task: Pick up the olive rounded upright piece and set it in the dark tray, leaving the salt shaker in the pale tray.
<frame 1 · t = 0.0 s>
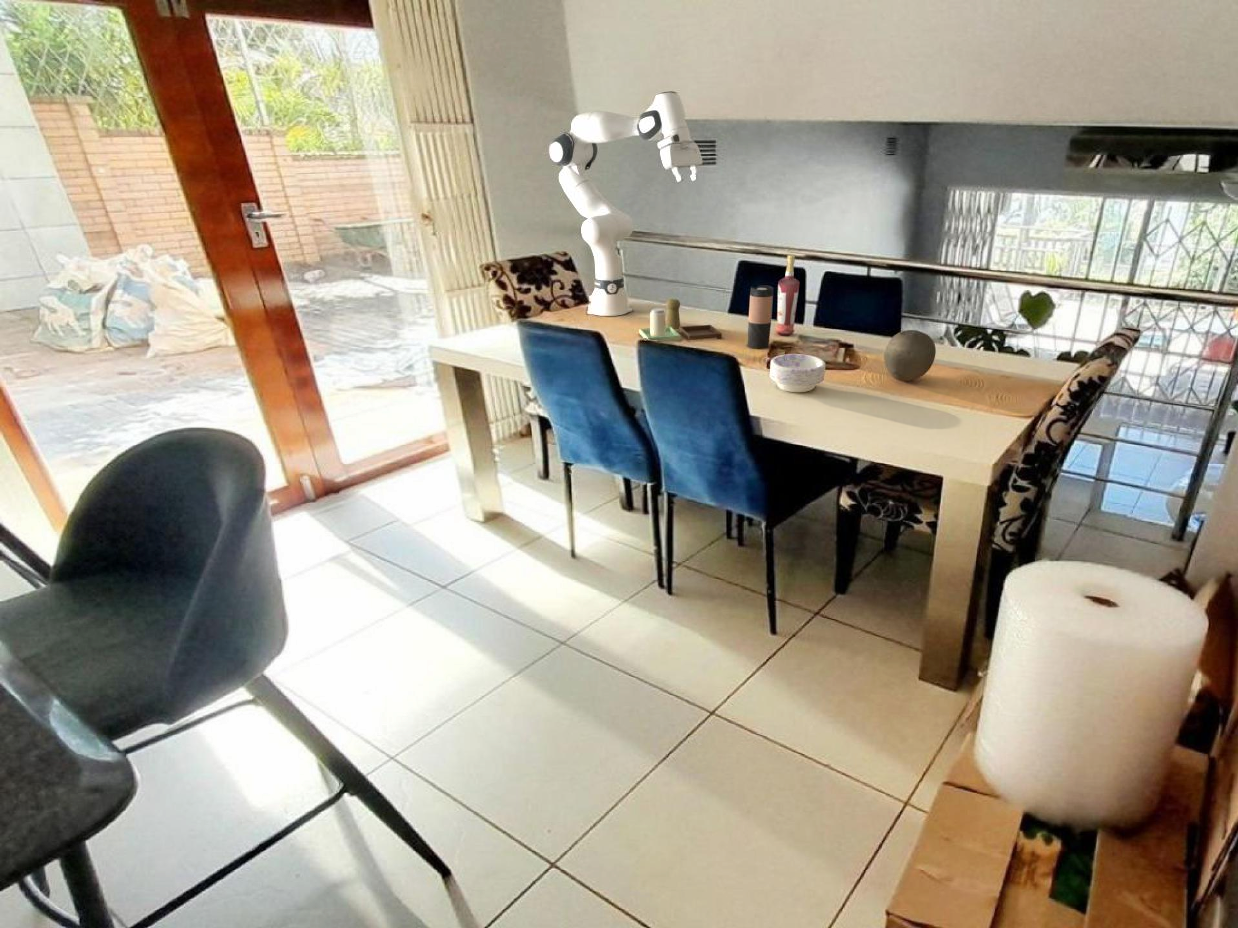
hand: (687, 180, 250), 52 cm above the table, tool tilted 20°, fingers open, 8 cm apart
travel mug: (758, 346, 243), on the table
paper bowls: (795, 388, 203), on the table
olive rounded upright piece: (672, 329, 267), on the table
liquor: (784, 335, 256), on the table
dark tray: (700, 335, 257), on the table
cantaloupe: (905, 382, 206), on the table
salt shaker: (657, 337, 254), resting on pale tray
pale tray: (659, 337, 256), on the table
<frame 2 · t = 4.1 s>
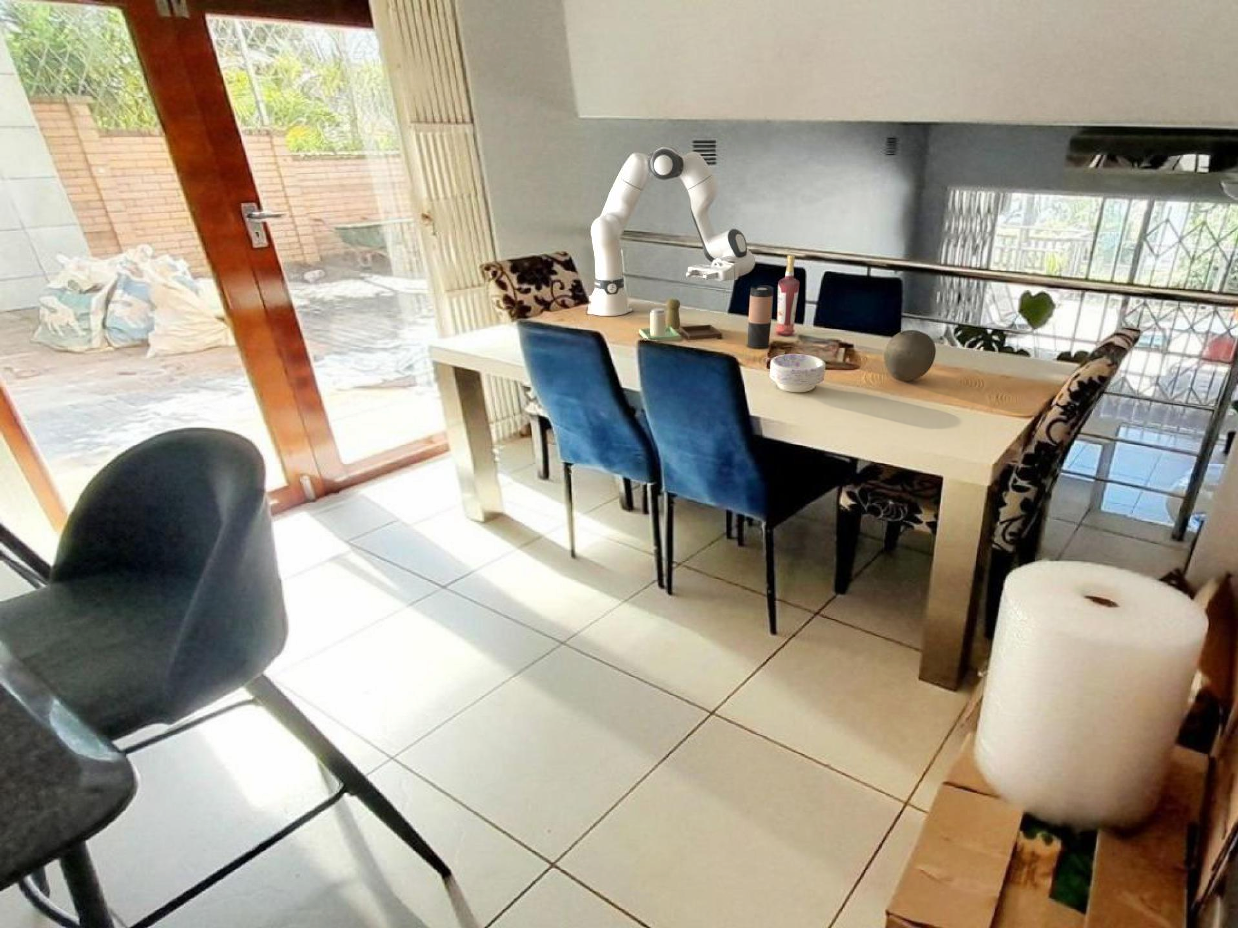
hand: (696, 276, 266), 18 cm above the table, tool horizontal, fingers open, 8 cm apart
nothing on the table moved.
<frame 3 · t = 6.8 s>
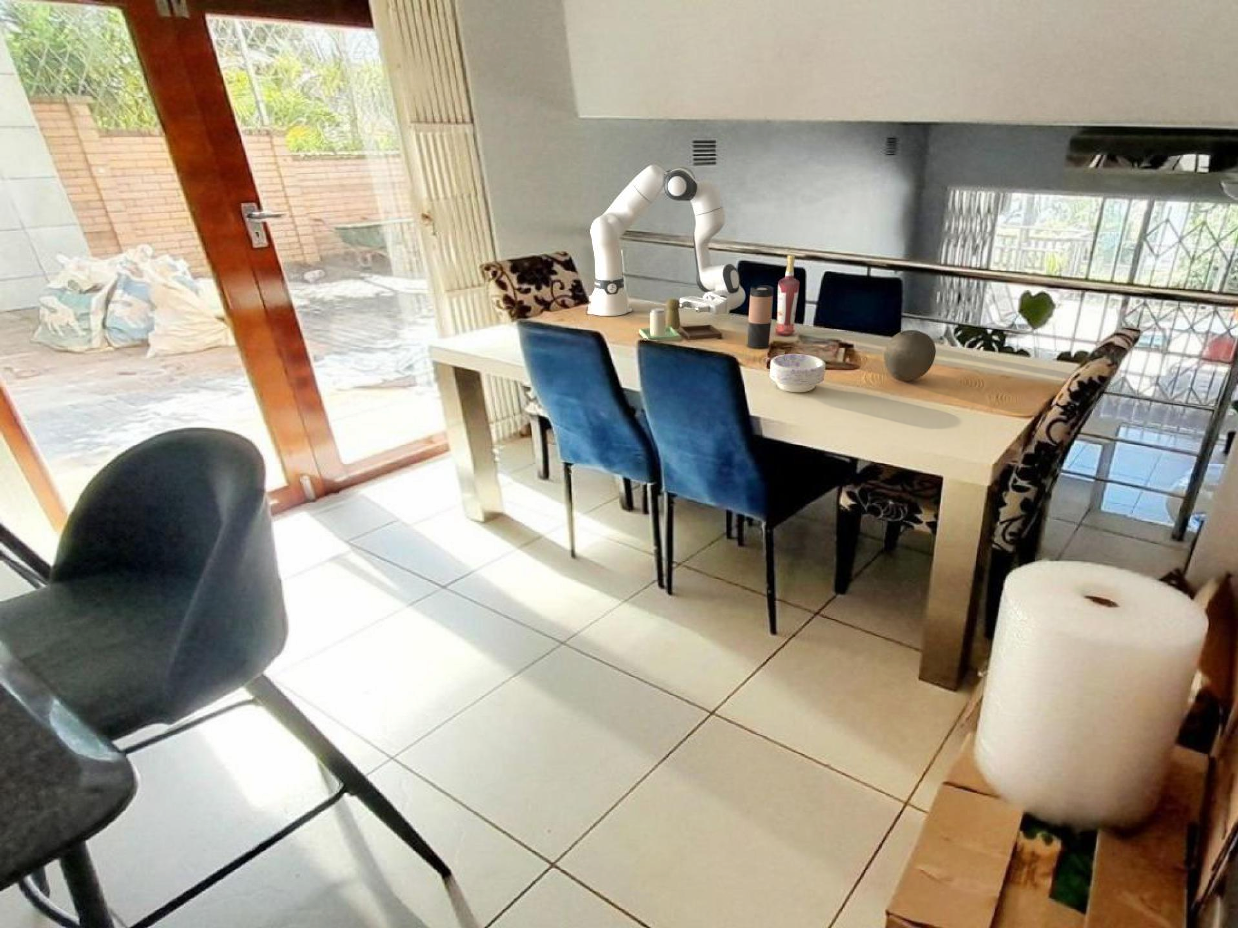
hand: (688, 308, 269), 7 cm above the table, tool horizontal, fingers open, 8 cm apart
nothing on the table moved.
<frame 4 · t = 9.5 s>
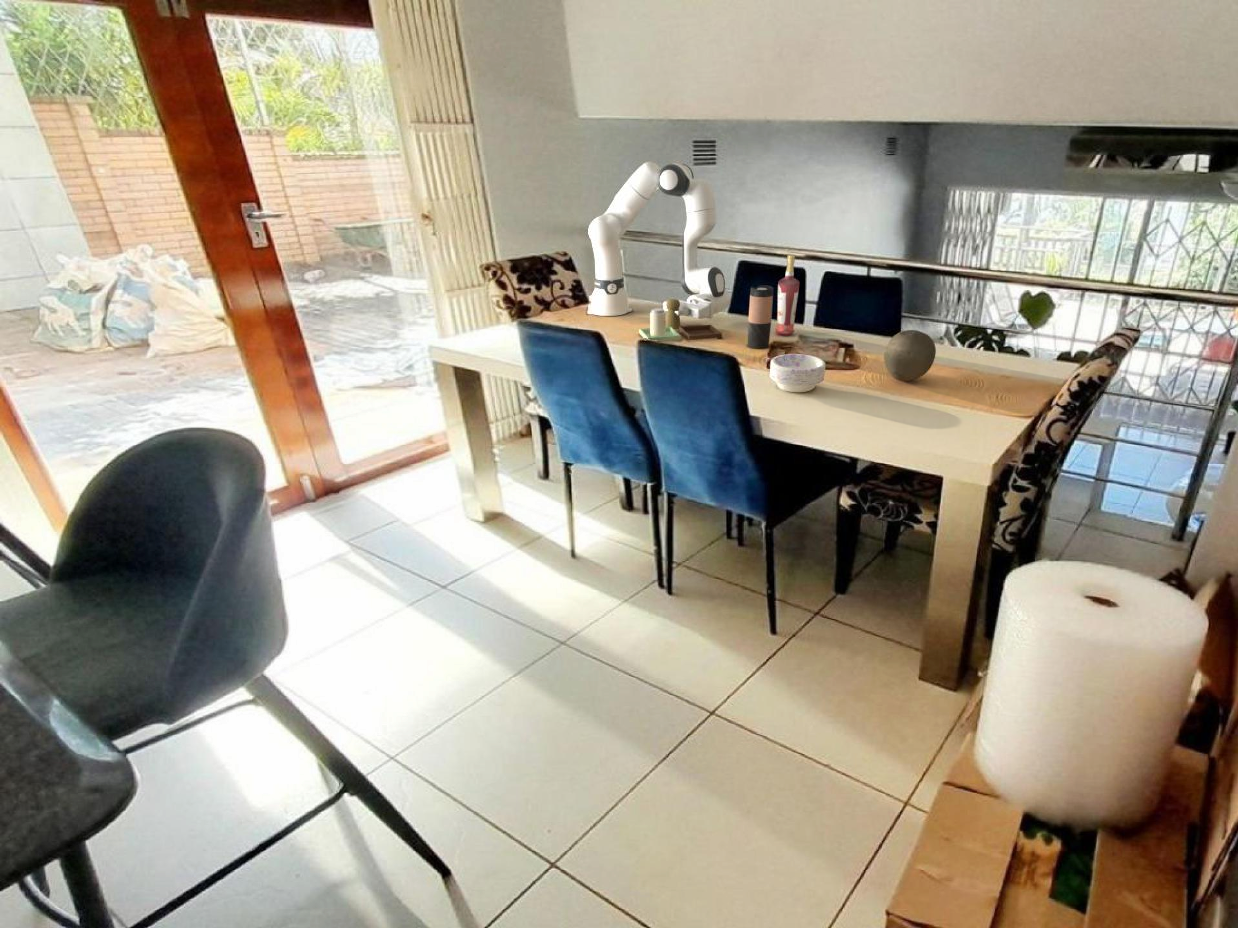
hand: (671, 312, 264), 7 cm above the table, tool horizontal, fingers closed on olive rounded upright piece, 4 cm apart
olive rounded upright piece: (672, 329, 267), on the table, touching gripper
everything else where it was.
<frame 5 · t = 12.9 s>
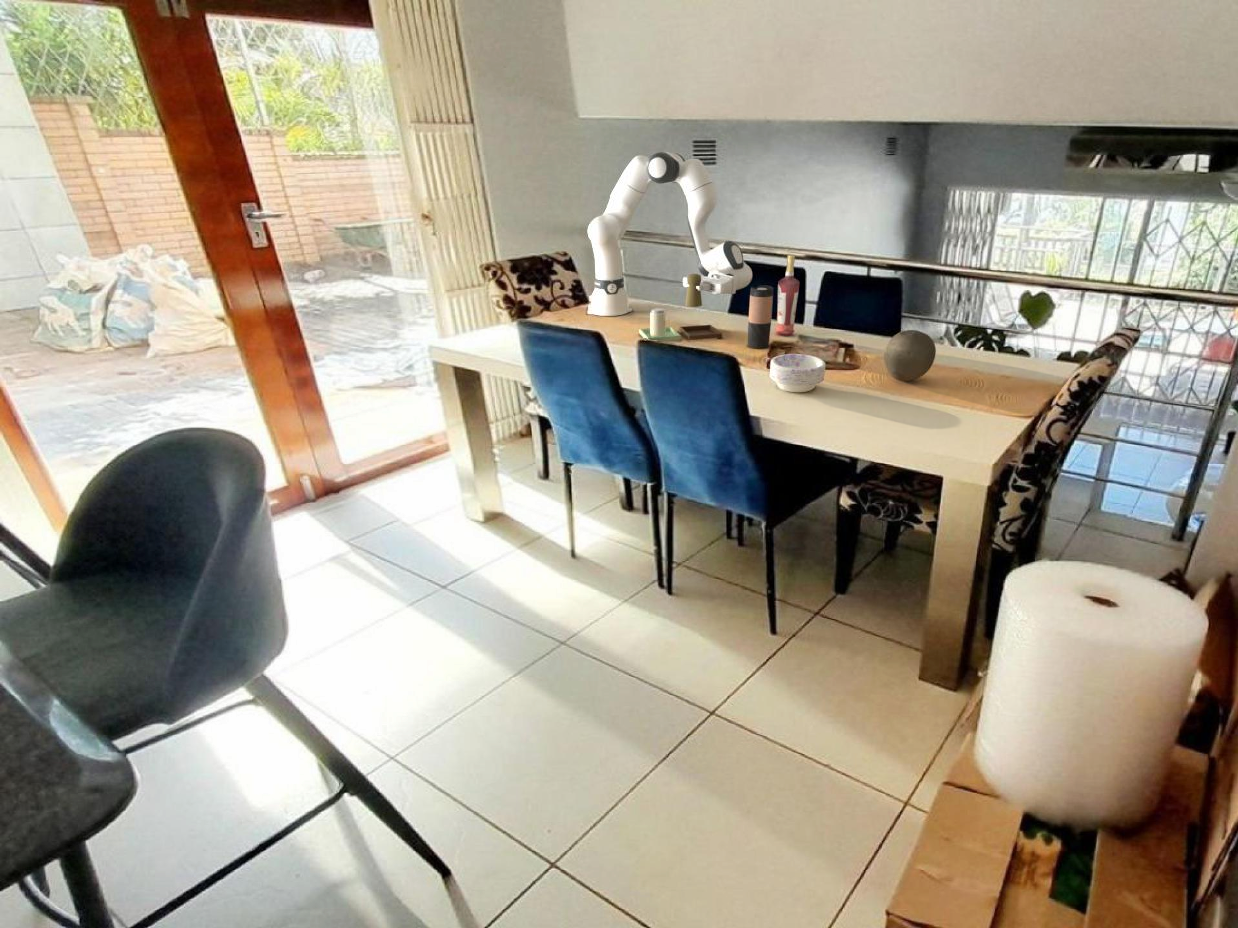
hand: (692, 287, 252), 17 cm above the table, tool horizontal, fingers closed on olive rounded upright piece, 4 cm apart
olive rounded upright piece: (693, 305, 256), point 10 cm above the table, touching gripper
everything else where it was.
when the fingers open (7 cm above the table, at t = 16.4 s): olive rounded upright piece stays where it is, resting on dark tray.
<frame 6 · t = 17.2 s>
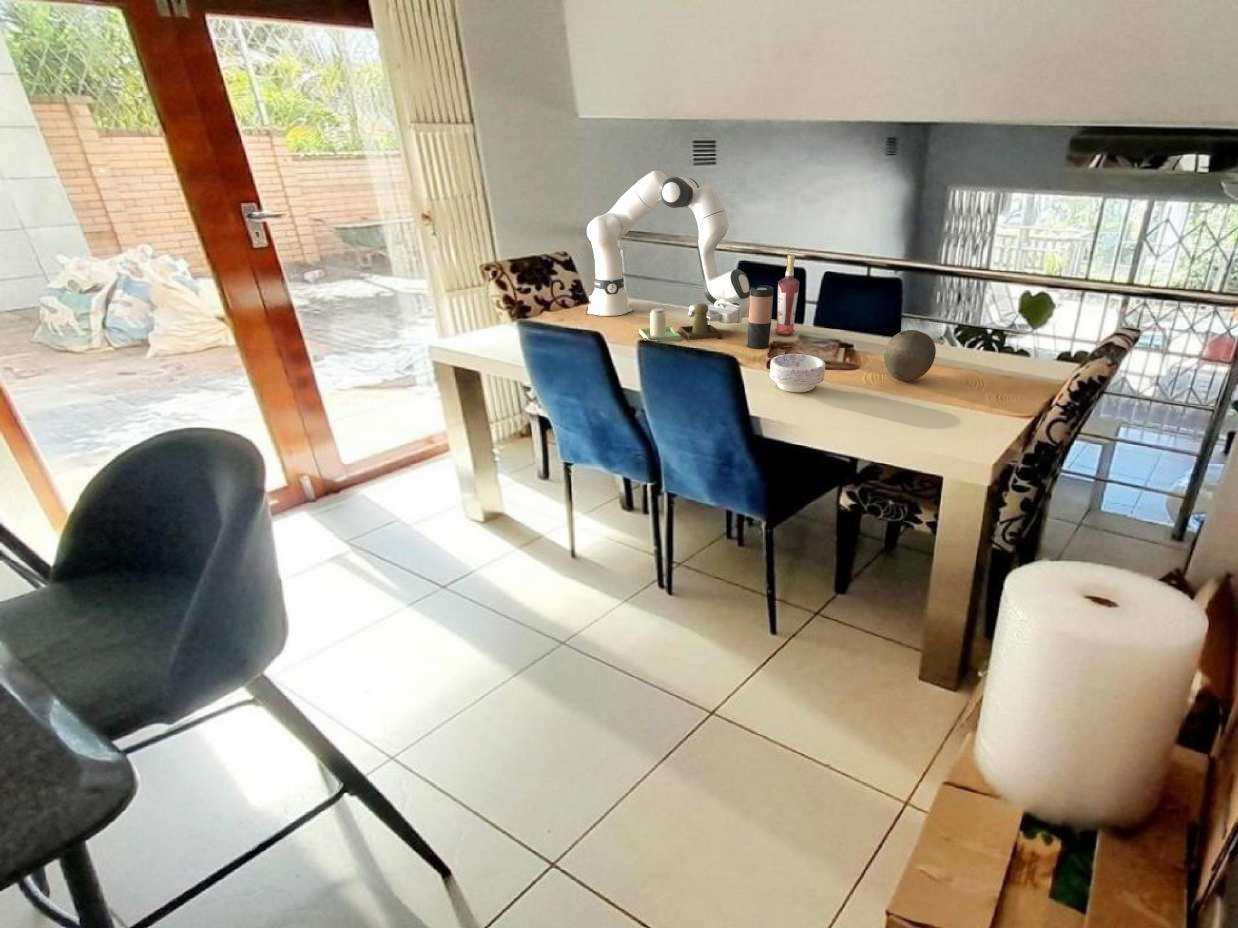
hand: (698, 316, 254), 7 cm above the table, tool horizontal, fingers open, 8 cm apart
olive rounded upright piece: (700, 334, 257), resting on dark tray
everything else where it was.
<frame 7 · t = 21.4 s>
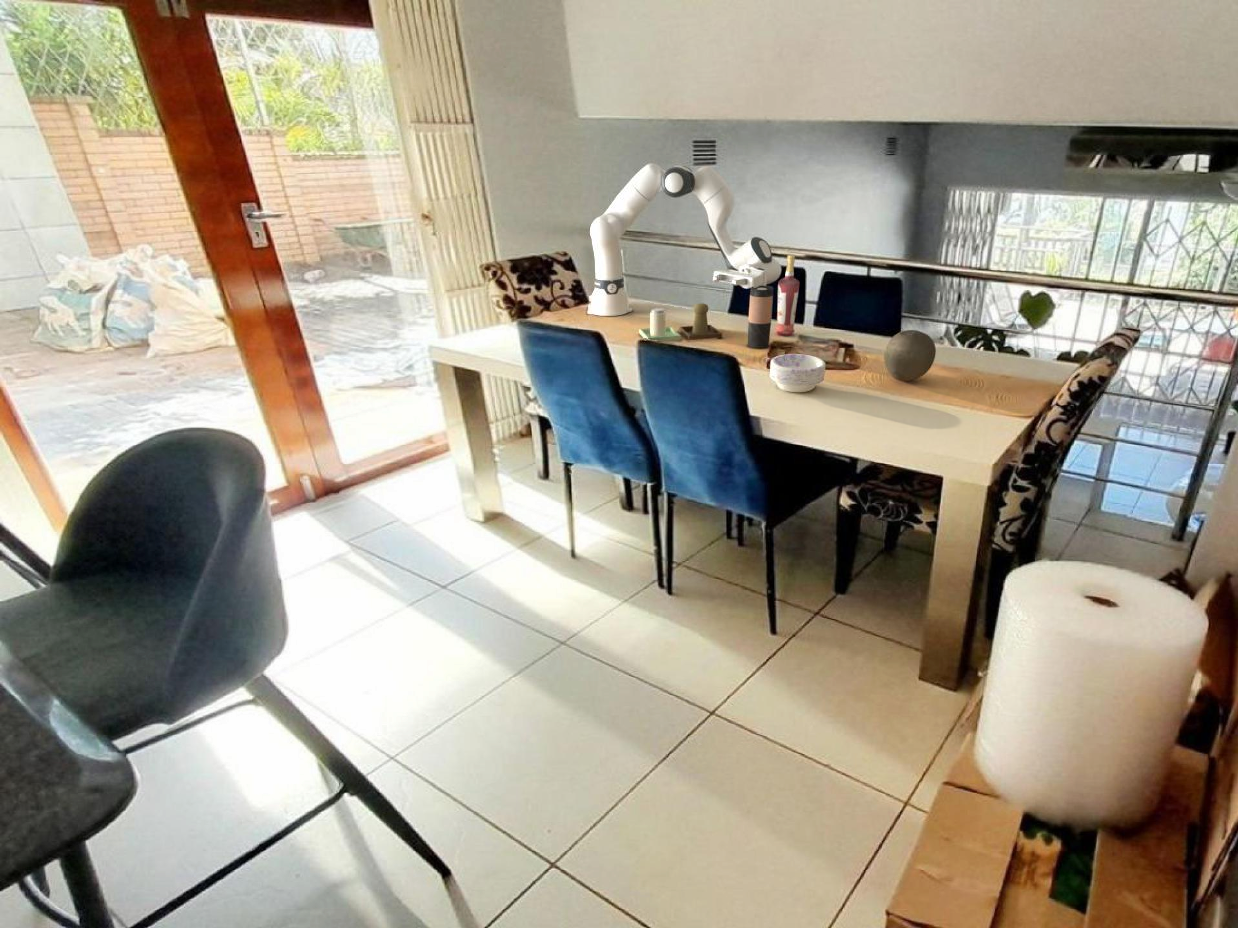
hand: (724, 281, 257), 18 cm above the table, tool horizontal, fingers open, 8 cm apart
nothing on the table moved.
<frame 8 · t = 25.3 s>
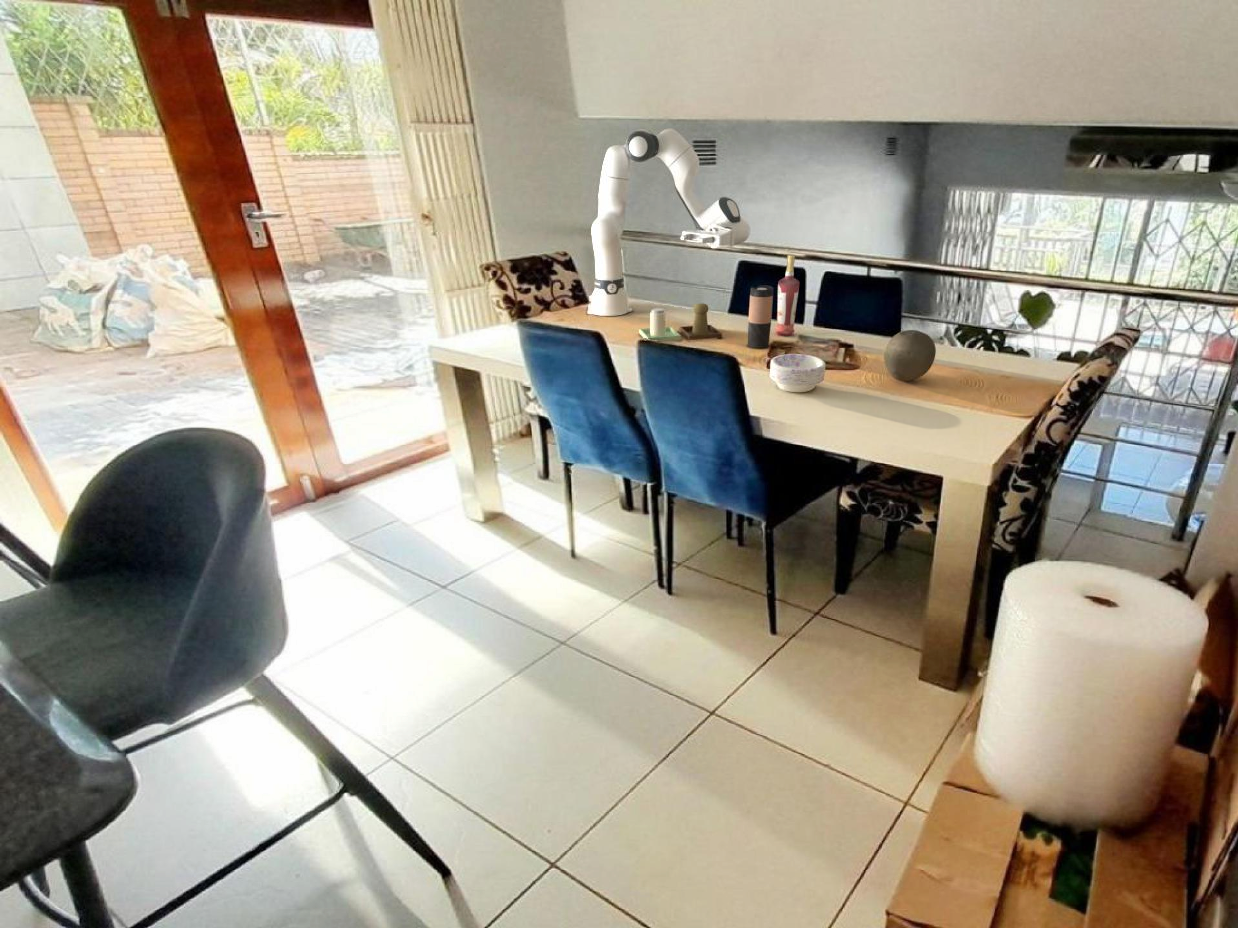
hand: (691, 239, 257), 32 cm above the table, tool horizontal, fingers open, 8 cm apart
nothing on the table moved.
at the end: olive rounded upright piece inside the target area in the dark tray (0.1 cm from its centre), point 0.3 cm above the dark tray's base; olive rounded upright piece tilted 0°; salt shaker moved 0.0 cm from its start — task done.
